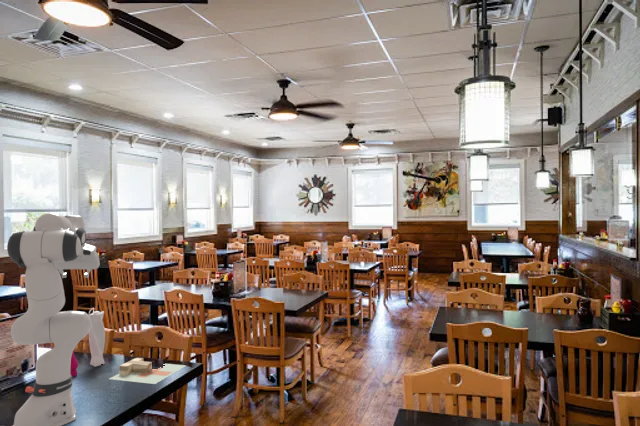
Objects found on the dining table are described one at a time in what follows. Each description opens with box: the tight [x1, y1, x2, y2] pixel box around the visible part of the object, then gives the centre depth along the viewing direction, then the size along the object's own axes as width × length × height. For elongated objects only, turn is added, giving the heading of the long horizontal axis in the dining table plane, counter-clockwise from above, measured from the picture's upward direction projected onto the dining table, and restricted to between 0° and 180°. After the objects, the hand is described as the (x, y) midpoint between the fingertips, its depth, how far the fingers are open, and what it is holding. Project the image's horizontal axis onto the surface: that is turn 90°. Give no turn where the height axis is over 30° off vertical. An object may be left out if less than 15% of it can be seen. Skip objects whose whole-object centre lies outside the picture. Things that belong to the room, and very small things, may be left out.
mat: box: [108, 363, 187, 385], centre depth 211 cm, size 24×25×1 cm
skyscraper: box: [88, 307, 106, 368], centre depth 224 cm, size 8×7×28 cm
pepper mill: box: [70, 347, 79, 378], centre depth 209 cm, size 7×7×20 cm
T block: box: [118, 357, 153, 375], centre depth 213 cm, size 12×12×4 cm
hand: (75, 277), depth 207 cm, fingers open, 8 cm apart
